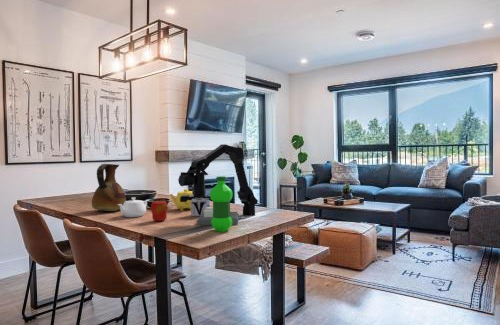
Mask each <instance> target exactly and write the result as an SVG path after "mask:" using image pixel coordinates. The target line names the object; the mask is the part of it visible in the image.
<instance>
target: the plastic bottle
mask: <svg viewBox="0 0 500 325" xmlns="http://www.w3.org/2000/svg"><path fill="white" fill-rule="evenodd" d="M226 177H227V176H225V175H223V176H216V179H215V180H216V181H217V184H216V185H215V186H214V187H213V188H211V190H210V192H209V195H210V198H211V200H212V201H211V202H212V207H213V218H212V220H211V224H212V225H211V226H212V228H214V230H215V231H216V232H227V231H228V230H229V229H230V228H231V227H232V219H231V217H230V212H231V200H232V199H233V198H234V197H233V195H234V194H233V193H234V192H233V190H232V189H231V188H230V187H229V186H228V185H227V184H226V182H225V181H226V179H227V178H226Z"/></svg>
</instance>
